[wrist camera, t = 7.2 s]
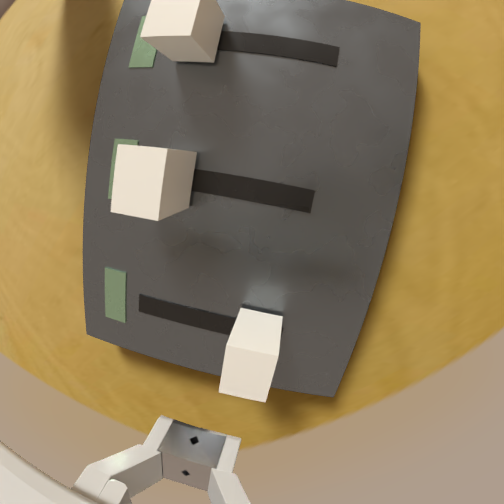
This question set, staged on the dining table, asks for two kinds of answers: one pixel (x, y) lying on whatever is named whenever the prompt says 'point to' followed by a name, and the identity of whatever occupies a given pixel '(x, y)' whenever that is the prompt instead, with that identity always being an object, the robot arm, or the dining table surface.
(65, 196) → the dining table surface
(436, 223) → the dining table surface
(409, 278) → the dining table surface
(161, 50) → the breaker handle
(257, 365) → the breaker handle
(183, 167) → the block
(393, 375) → the dining table surface
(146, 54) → the breaker panel
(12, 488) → the robot arm
